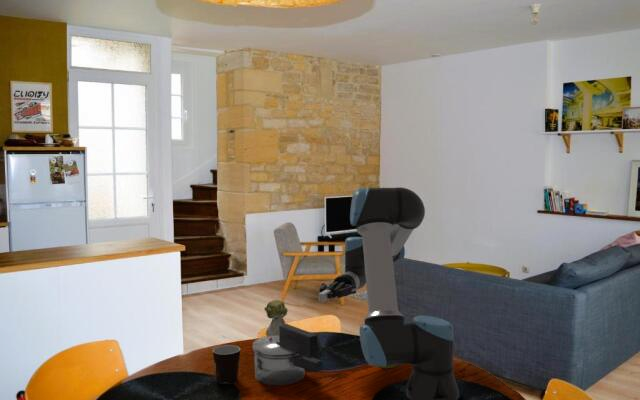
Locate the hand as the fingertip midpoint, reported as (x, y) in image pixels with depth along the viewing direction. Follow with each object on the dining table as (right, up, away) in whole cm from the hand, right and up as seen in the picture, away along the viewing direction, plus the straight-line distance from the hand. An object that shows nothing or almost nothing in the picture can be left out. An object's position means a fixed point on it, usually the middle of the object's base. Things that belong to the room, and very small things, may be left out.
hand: (321, 298), depth 189 cm
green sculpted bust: (-16, -23, +24) cm, 37 cm away
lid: (-11, -16, -4) cm, 19 cm away
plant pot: (+22, -24, +9) cm, 34 cm away
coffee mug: (-29, -25, -2) cm, 39 cm away
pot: (-11, -25, -2) cm, 27 cm away
